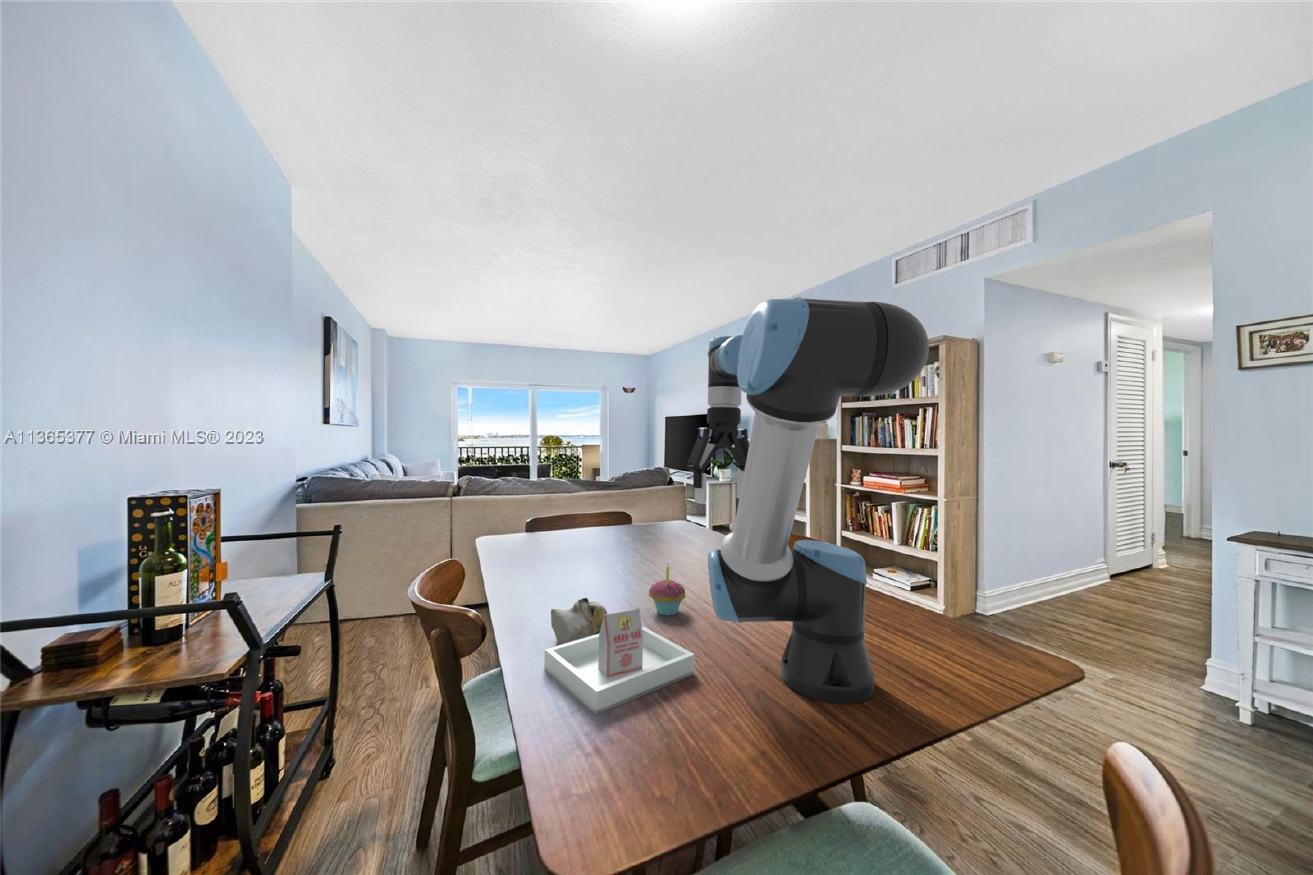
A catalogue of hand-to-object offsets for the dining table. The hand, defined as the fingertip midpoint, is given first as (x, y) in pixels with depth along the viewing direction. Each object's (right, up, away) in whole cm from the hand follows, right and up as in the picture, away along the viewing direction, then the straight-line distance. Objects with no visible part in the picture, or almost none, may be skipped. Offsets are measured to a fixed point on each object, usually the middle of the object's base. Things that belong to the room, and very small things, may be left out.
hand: (721, 500), depth 109 cm
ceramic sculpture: (-29, -27, -12) cm, 41 cm away
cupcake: (-12, -27, +4) cm, 30 cm away
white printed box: (-21, -26, -25) cm, 42 cm away
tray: (-21, -27, -25) cm, 42 cm away
